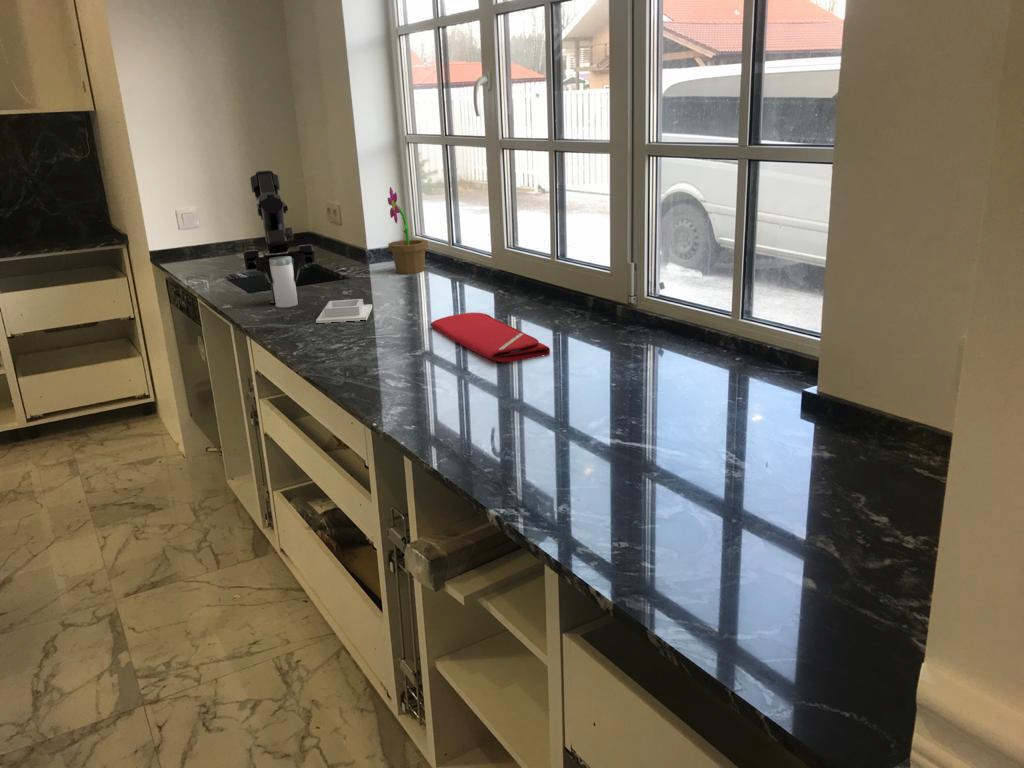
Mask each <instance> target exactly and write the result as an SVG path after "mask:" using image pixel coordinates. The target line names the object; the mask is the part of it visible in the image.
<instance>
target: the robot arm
mask: <svg viewBox="0 0 1024 768" xmlns="http://www.w3.org/2000/svg"><path fill="white" fill-rule="evenodd" d="M249 181H250V188H251V193H254V199H255V200H256V202H258V203H256V211H257V216H258V217H260V219H261V221H263V222H262V224H263V231H264V237H265V242H266V248H267V253H264V252H259V250H258V249H251V250H245V251H244V252H243V259H244V265H245V270H246V271H247V270H248V271H253V270H256V271H257V272H261V274H262V275H264V278H265V284H266V286H269V285H270V289H271V296H272V300H271V301H270V303H275V297H274V290H273V282H272V276H271V269H270V263H269V259H270V258H273V257H279V256H291V257H292V260H293V271H294V278H295V283H297V281H298V278H299V274H300V271H301V269H302V267H305V266H306V265H309V264H314V263H315V249H314V246H313V245H312V244H311V243H310V244H300V245H298V250H295V251H290V244H289V241H294V232H293V227H285V215H286V214H287V211H289V210H288V209H289V208H288V205H287V204H286V203H285V201H282V197H281V195H280V194H279V191H280V189H281V188H280V187H281V186H280V180H279V175H278V174H275V173H274V172H273V171H272V170H258V171H256V172H255V174H254V175H252V176H250V177H249ZM270 303H269V304H270Z"/></svg>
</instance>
